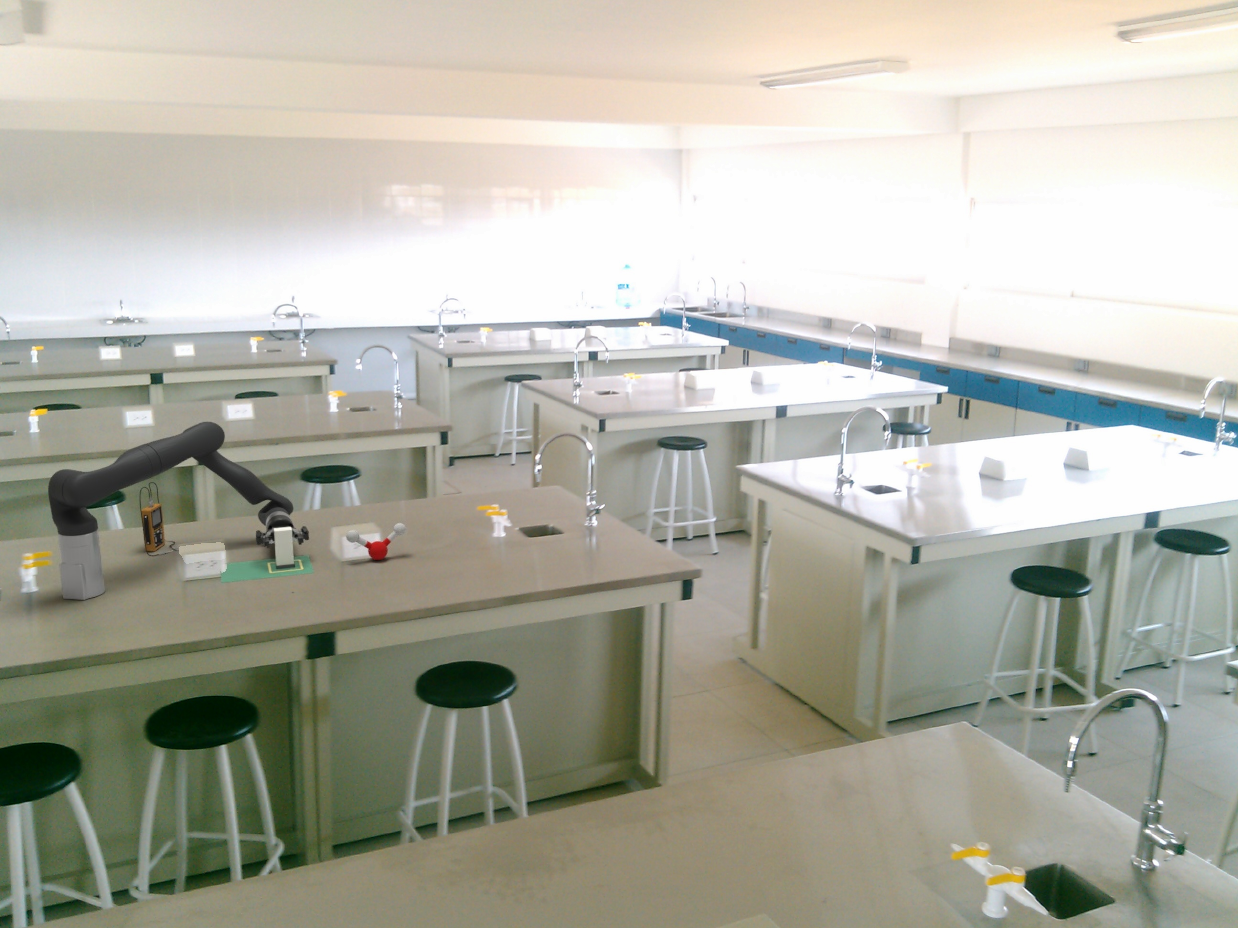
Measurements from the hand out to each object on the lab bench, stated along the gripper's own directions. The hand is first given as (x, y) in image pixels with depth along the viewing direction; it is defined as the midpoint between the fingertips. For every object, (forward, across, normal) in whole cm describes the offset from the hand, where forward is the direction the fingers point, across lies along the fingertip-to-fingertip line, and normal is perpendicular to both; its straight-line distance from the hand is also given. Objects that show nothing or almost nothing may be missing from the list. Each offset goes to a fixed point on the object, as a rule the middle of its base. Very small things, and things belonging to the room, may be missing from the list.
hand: (284, 542), depth 278 cm
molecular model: (-4, +26, +9) cm, 28 cm away
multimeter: (-34, -31, +9) cm, 47 cm away
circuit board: (-2, -5, +9) cm, 10 cm away
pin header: (-2, 0, +8) cm, 8 cm away
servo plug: (-2, 0, +6) cm, 7 cm away
